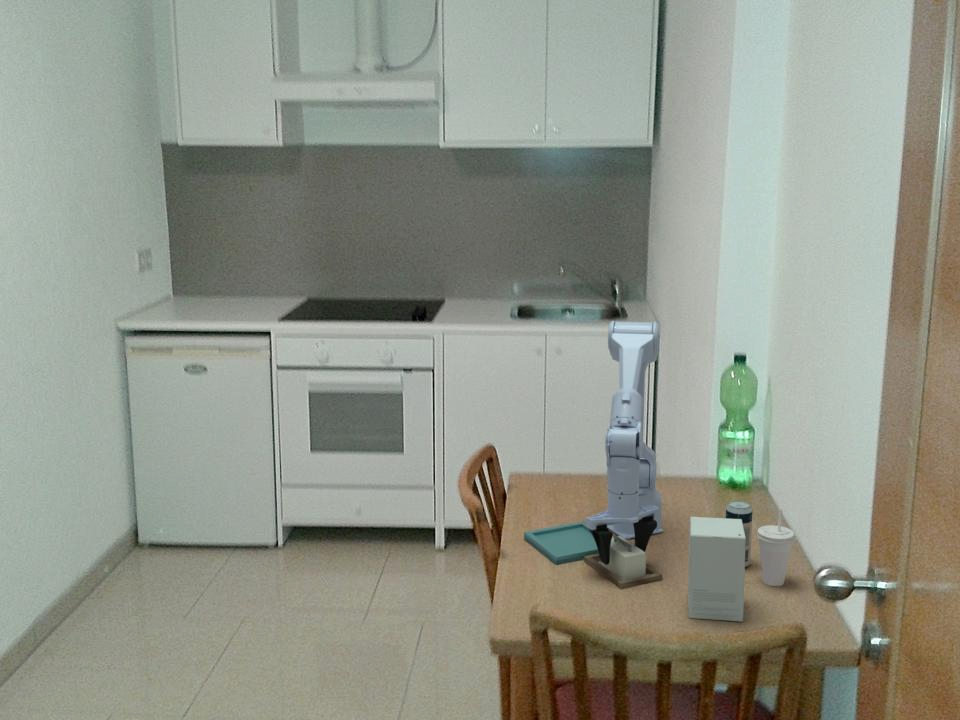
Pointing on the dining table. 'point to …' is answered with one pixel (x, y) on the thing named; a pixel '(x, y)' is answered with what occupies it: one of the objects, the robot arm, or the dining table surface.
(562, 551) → the tray
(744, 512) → the beer can
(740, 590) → the supplement box
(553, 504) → the dining table surface
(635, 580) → the brown flat rectangular frame
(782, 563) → the smoothie
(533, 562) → the dining table surface
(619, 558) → the white block with handle
